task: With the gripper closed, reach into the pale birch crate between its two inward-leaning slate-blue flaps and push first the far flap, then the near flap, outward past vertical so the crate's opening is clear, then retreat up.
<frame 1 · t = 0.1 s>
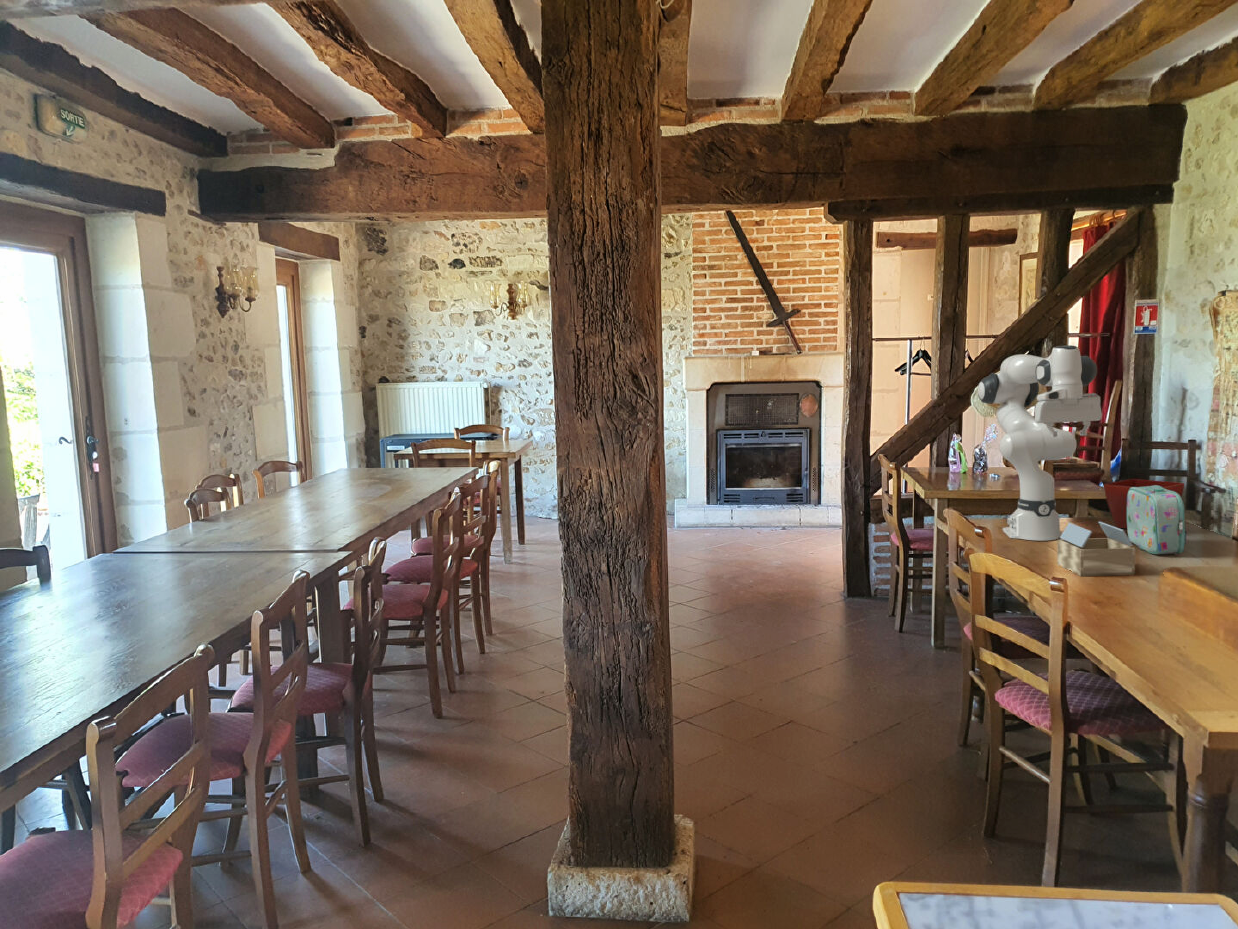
hand: (1068, 436, 274), 39 cm above the table, tool pointing down, fingers open, 8 cm apart
lunch box: (1154, 549, 276), on the table
crate: (1094, 569, 254), on the table
plant pot: (1142, 528, 307), on the table
flap far: (1115, 533, 253), point 11 cm above the table, hinge at -30.0°
flap near: (1075, 534, 253), point 11 cm above the table, hinge at -30.0°
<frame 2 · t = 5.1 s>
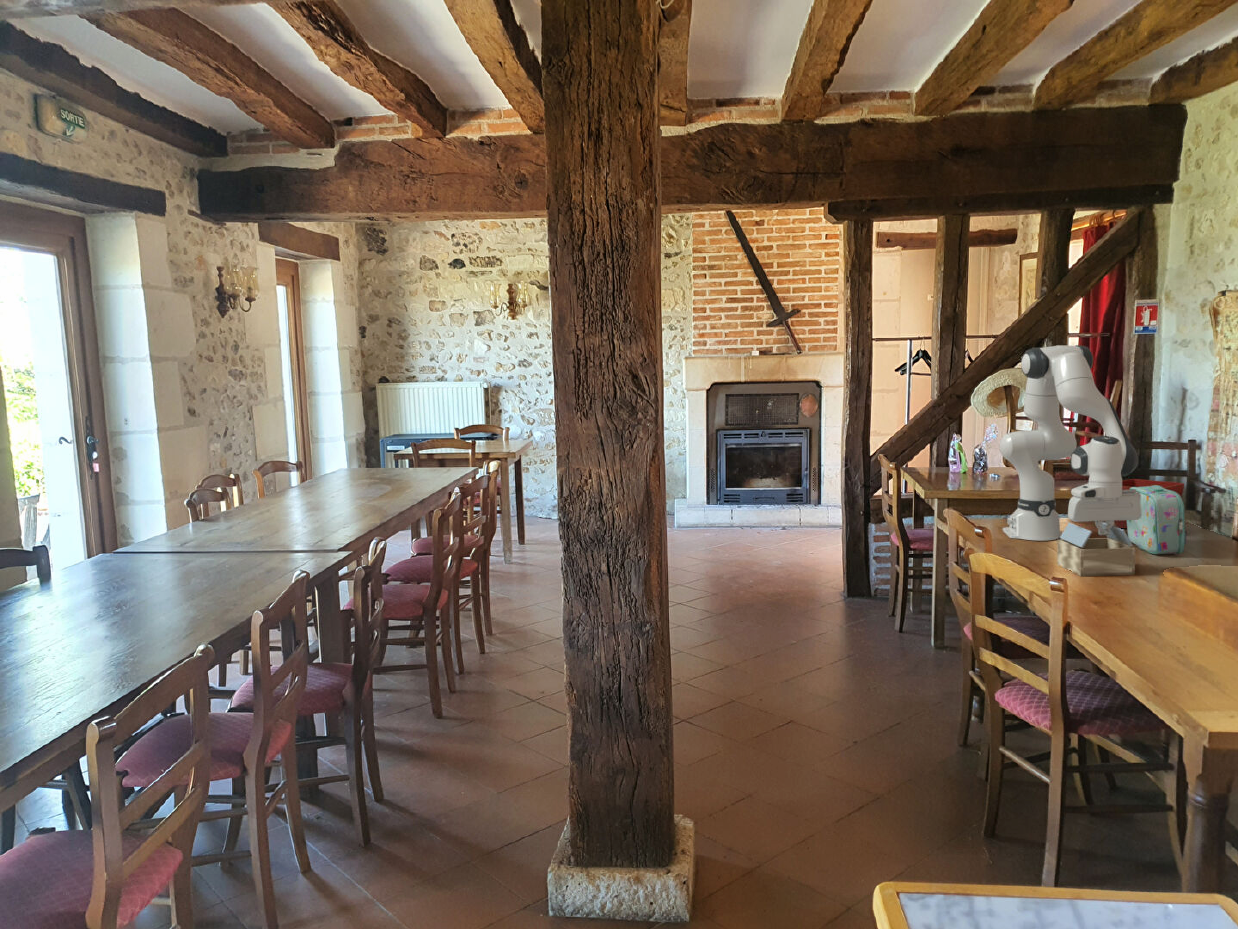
hand: (1104, 535, 253), 11 cm above the table, tool pointing down, fingers closed
flap far: (1115, 533, 253), point 11 cm above the table, hinge at -28.4°, touching gripper
everything else where it was.
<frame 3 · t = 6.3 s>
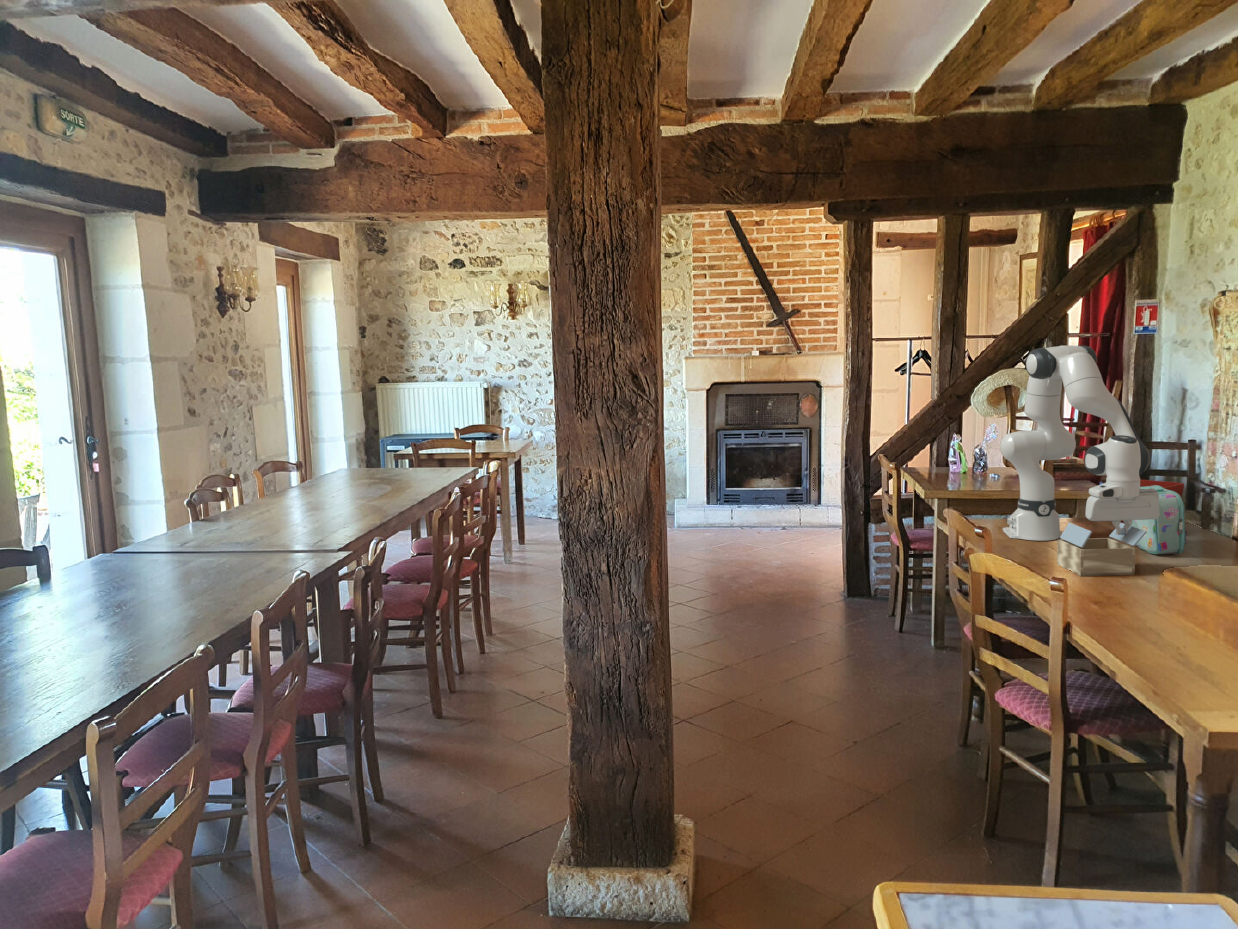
hand: (1121, 534, 252), 11 cm above the table, tool pointing down, fingers closed
flap far: (1127, 534, 252), point 11 cm above the table, hinge at 40.4°, touching gripper
everything else where it was.
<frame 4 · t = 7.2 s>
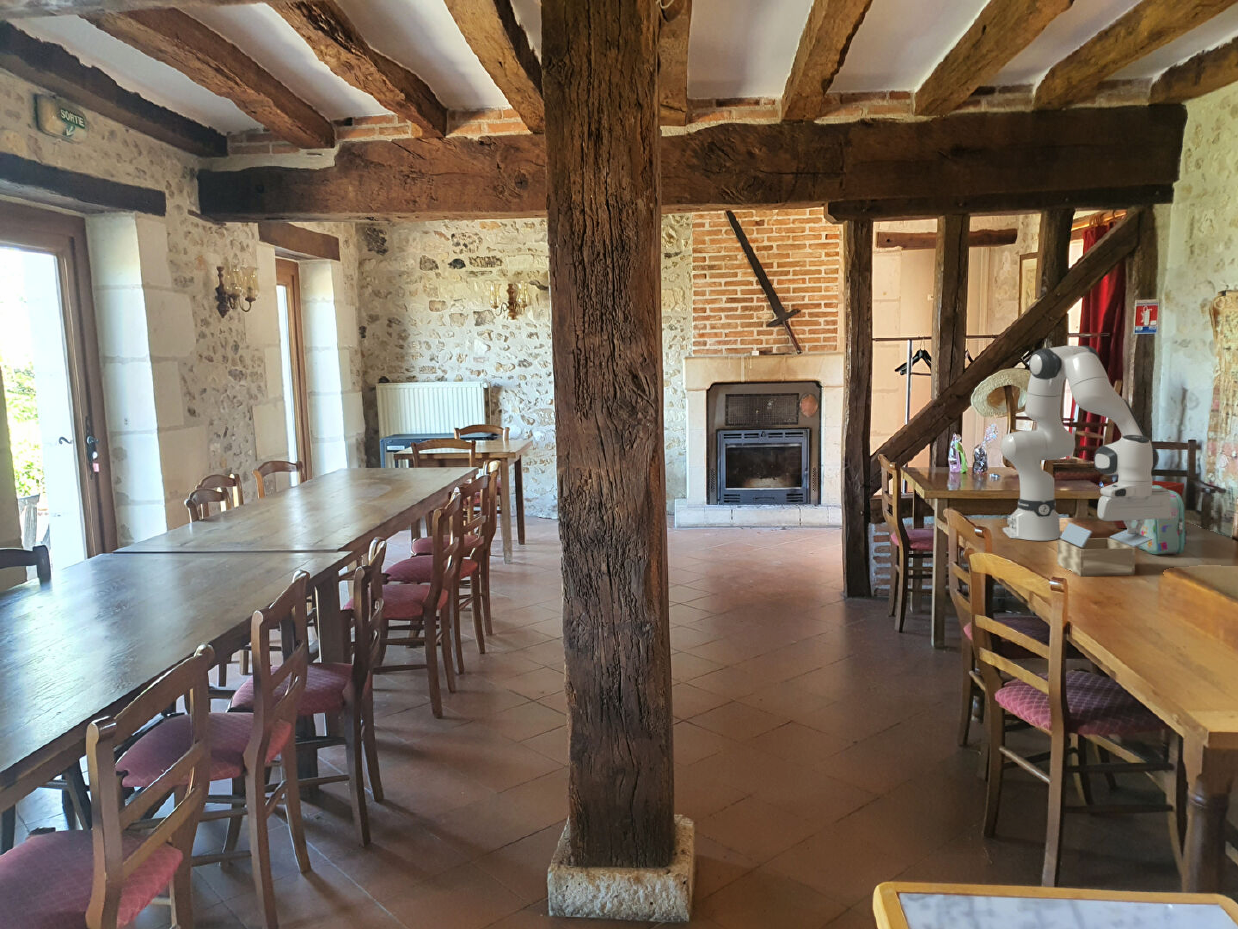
hand: (1133, 534, 252), 11 cm above the table, tool pointing down, fingers closed
flap far: (1130, 538, 253), point 9 cm above the table, hinge at 68.6°, touching gripper
everything else where it was.
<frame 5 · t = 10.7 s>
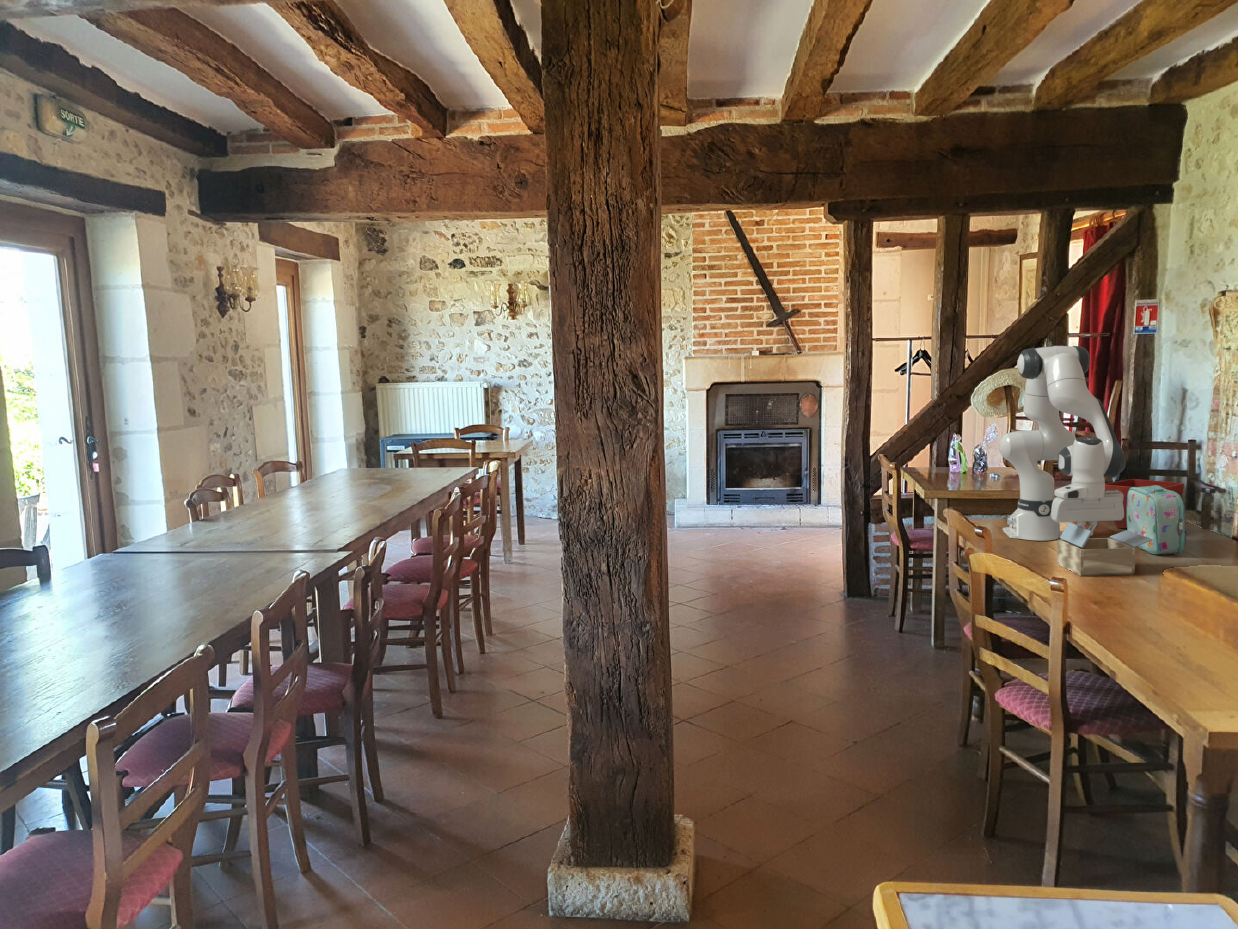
hand: (1087, 535, 253), 11 cm above the table, tool pointing down, fingers closed
flap far: (1130, 538, 253), point 9 cm above the table, hinge at 69.9°
flap near: (1075, 534, 253), point 11 cm above the table, hinge at -29.4°, touching gripper
everything else where it was.
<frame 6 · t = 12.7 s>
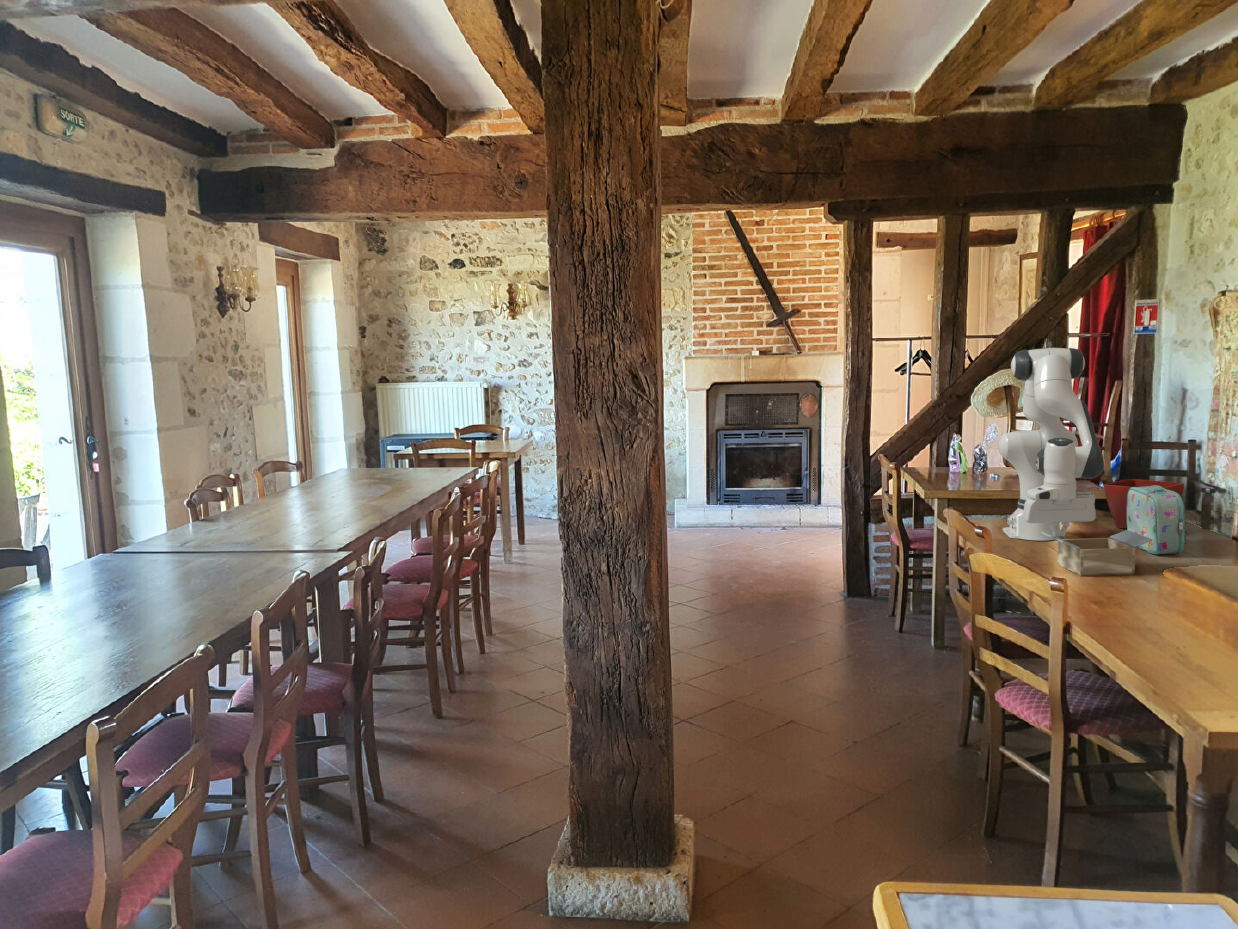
hand: (1059, 536, 254), 11 cm above the table, tool pointing down, fingers closed
flap near: (1060, 540, 254), point 9 cm above the table, hinge at 66.4°
everything else where it was.
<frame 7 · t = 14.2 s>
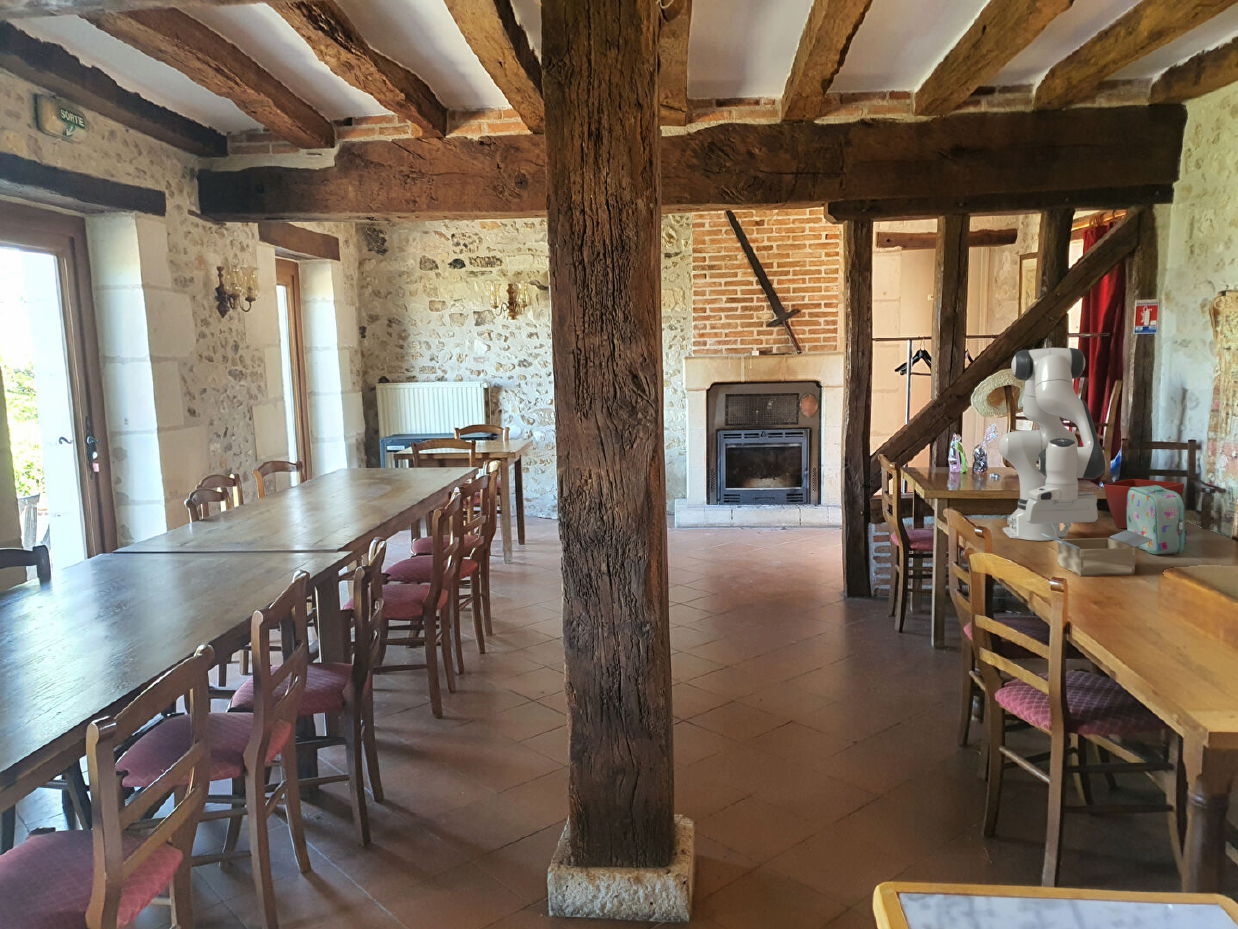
hand: (1060, 537, 254), 10 cm above the table, tool pointing down, fingers closed
flap near: (1060, 540, 254), point 9 cm above the table, hinge at 70.3°
everything else where it was.
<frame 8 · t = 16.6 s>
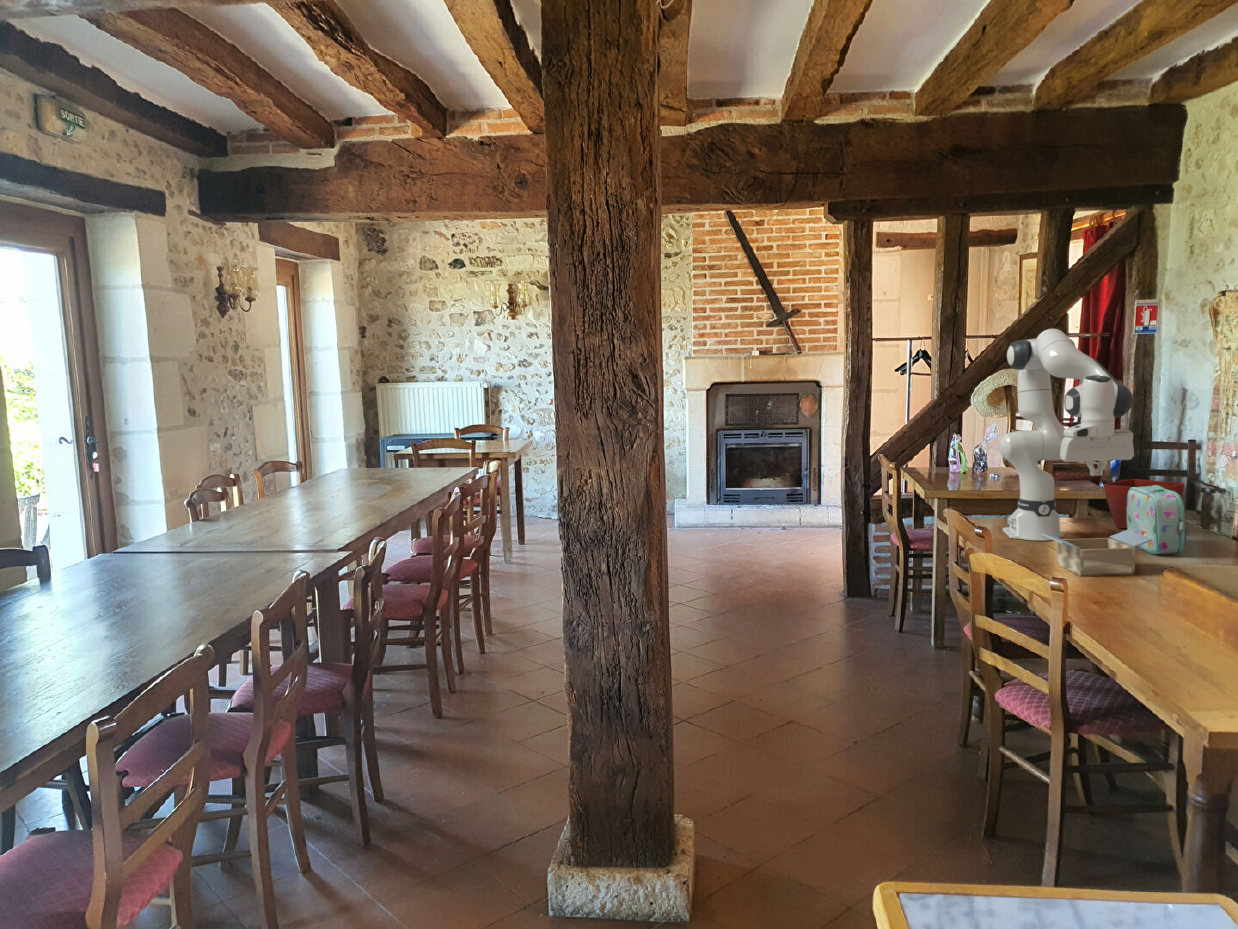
hand: (1096, 475, 251), 29 cm above the table, tool pointing down, fingers closed
nothing on the table moved.
at the end: flap far at +70° (first picture: -30°); flap near at +70° (first picture: -30°) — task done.
